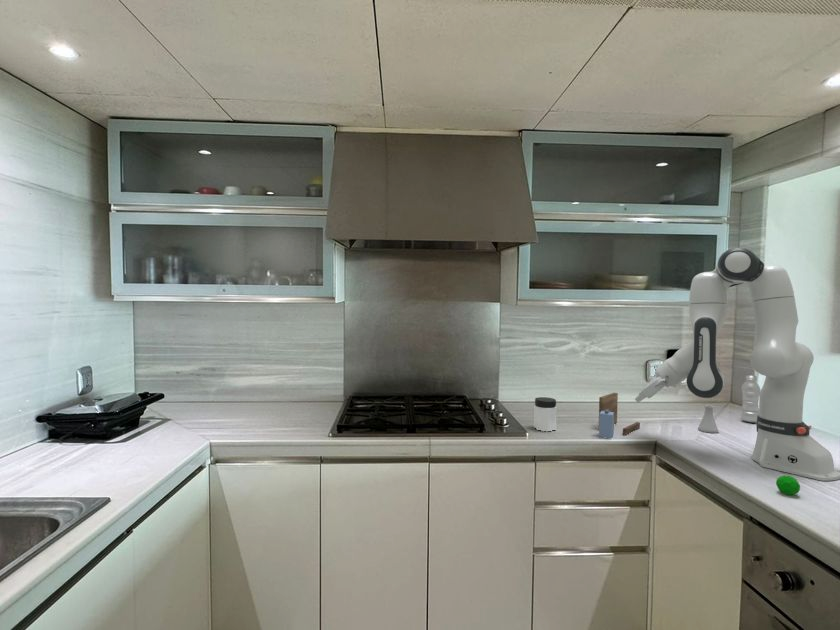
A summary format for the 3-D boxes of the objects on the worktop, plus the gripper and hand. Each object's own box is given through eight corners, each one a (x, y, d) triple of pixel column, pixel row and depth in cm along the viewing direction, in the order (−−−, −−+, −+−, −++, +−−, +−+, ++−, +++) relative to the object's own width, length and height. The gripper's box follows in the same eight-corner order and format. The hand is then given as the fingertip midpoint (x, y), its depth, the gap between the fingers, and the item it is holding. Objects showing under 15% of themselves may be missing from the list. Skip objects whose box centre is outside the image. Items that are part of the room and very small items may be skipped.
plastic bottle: (757, 425, 192) (759, 377, 191) (738, 421, 197) (740, 375, 196) (761, 422, 196) (763, 376, 195) (742, 419, 201) (744, 374, 200)
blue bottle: (613, 435, 175) (614, 409, 174) (611, 439, 170) (612, 412, 170) (601, 433, 177) (601, 408, 177) (598, 437, 173) (599, 410, 172)
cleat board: (639, 428, 185) (640, 396, 184) (625, 435, 175) (626, 401, 174) (613, 423, 192) (614, 392, 192) (598, 429, 183) (599, 397, 182)
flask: (722, 434, 178) (723, 408, 178) (701, 432, 180) (702, 407, 179) (714, 429, 185) (715, 404, 185) (694, 427, 187) (695, 403, 186)
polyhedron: (802, 499, 120) (802, 481, 120) (779, 495, 122) (779, 478, 122) (796, 492, 124) (796, 474, 124) (773, 488, 126) (774, 471, 126)
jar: (558, 432, 178) (559, 401, 178) (538, 432, 178) (538, 401, 178) (551, 425, 187) (552, 396, 187) (531, 425, 187) (532, 396, 186)
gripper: (673, 386, 154) (640, 410, 160) (678, 377, 171) (648, 400, 177) (658, 371, 156) (627, 396, 162) (664, 364, 174) (636, 387, 179)
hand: (638, 398), depth 170 cm, fingers open, 8 cm apart
